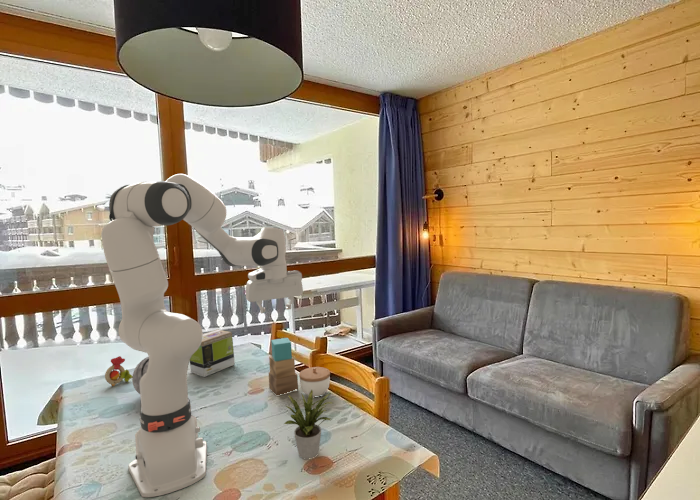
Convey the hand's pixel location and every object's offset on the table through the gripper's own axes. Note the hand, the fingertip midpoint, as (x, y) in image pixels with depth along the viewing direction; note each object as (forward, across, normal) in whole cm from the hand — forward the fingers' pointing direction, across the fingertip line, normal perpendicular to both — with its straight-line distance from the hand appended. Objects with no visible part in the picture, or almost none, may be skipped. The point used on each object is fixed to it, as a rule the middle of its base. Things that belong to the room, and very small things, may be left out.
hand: (276, 311), depth 139 cm
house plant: (+29, +6, +42) cm, 52 cm away
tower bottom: (+29, -1, 0) cm, 29 cm away
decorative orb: (+29, +39, -20) cm, 53 cm away
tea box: (+29, +17, -36) cm, 49 cm away
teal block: (+17, -1, 0) cm, 17 cm away
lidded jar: (+29, -10, +10) cm, 32 cm away
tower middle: (+23, -1, 0) cm, 23 cm away
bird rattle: (+29, +51, -41) cm, 72 cm away
